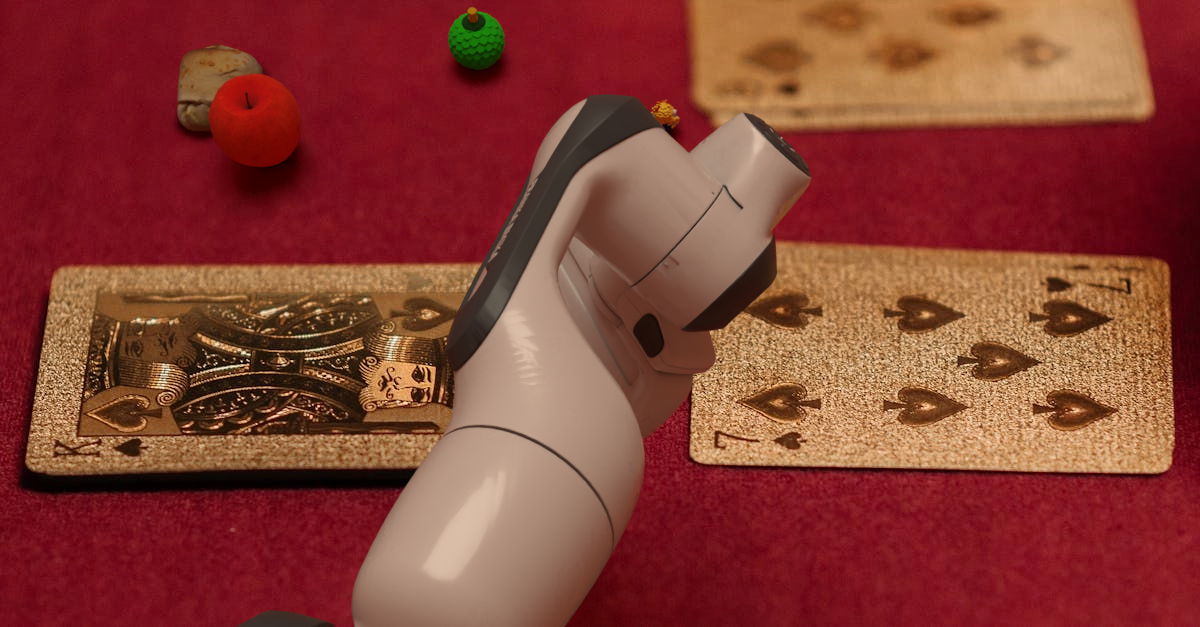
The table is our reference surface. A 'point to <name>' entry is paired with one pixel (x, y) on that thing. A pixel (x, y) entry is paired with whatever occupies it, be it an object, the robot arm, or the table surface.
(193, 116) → the pastry
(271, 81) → the apple
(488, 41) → the ornament
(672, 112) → the figurine set
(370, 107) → the table surface
